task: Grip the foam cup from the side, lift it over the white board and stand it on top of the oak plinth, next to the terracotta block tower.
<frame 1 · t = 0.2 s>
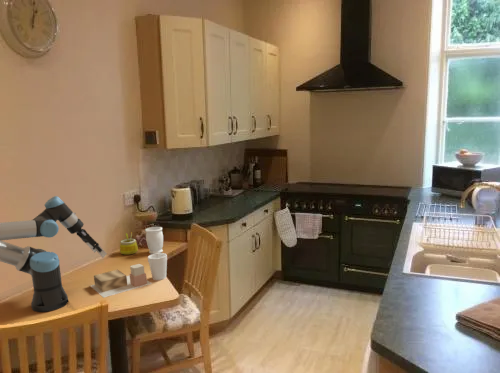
hand: (100, 253, 222), 15 cm above the table, tool tilted 35°, fingers open, 13 cm apart
white board: (121, 287, 214), on the table
foam cup: (159, 281, 220), on the table
oak plinth: (111, 285, 214), resting on white board
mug: (130, 252, 273), on the table
terracotta tower: (138, 283, 214), resting on white board
jar: (156, 252, 270), on the table
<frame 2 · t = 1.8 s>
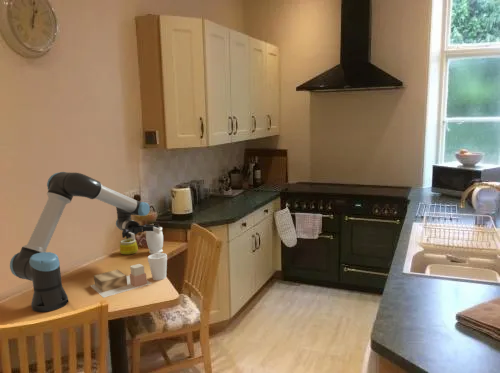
hand: (146, 234, 225), 22 cm above the table, tool horizontal, fingers open, 13 cm apart
nothing on the table moved.
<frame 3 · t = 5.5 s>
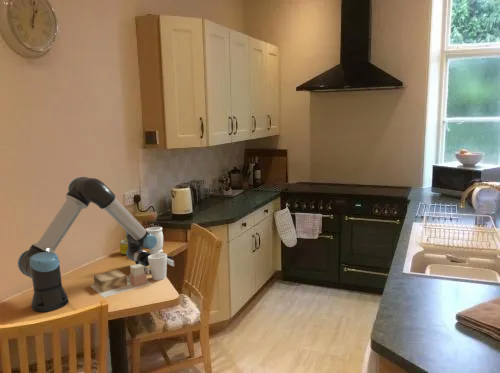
hand: (161, 267, 218), 7 cm above the table, tool horizontal, fingers open, 13 cm apart
nothing on the table moved.
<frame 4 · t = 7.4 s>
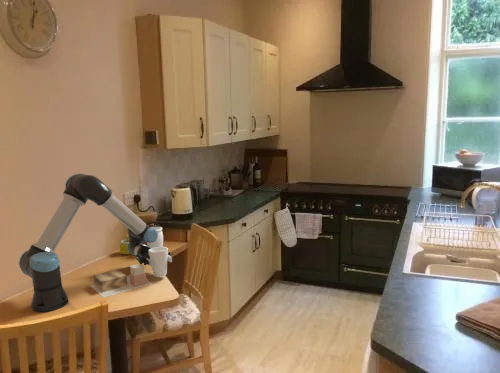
hand: (162, 261, 215), 11 cm above the table, tool horizontal, fingers closed on foam cup, 9 cm apart
foam cup: (160, 274, 219), point 3 cm above the table, touching gripper
everything else where it was.
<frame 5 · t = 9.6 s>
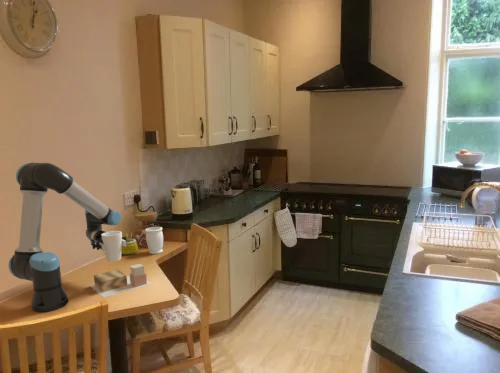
hand: (115, 246, 208), 22 cm above the table, tool horizontal, fingers closed on foam cup, 9 cm apart
foam cup: (114, 259, 212), point 14 cm above the table, touching gripper
everything else where it was.
when the fingers open (15 cm above the table, at t = 11.7 s): foam cup drops 1 cm, resting on oak plinth.
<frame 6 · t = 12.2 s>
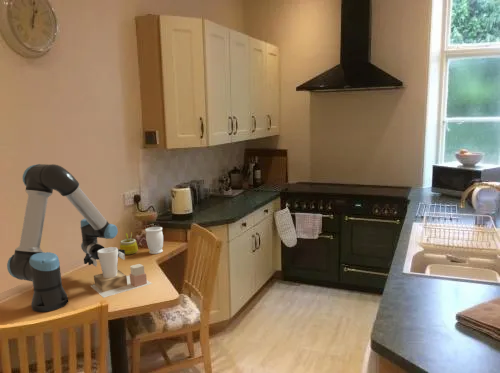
hand: (110, 260, 209), 15 cm above the table, tool horizontal, fingers open, 13 cm apart
foam cup: (110, 276, 212), point 6 cm above the table, touching oak plinth
everything else where it was.
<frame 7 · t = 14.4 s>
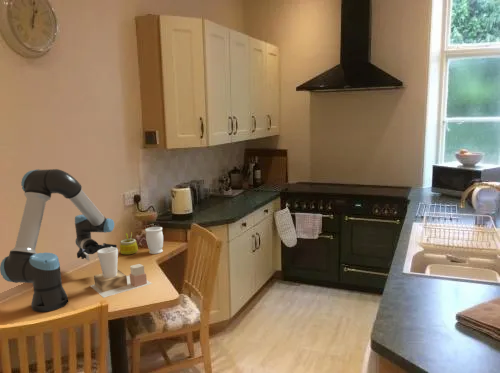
hand: (102, 254, 219), 15 cm above the table, tool horizontal, fingers open, 13 cm apart
nothing on the table moved.
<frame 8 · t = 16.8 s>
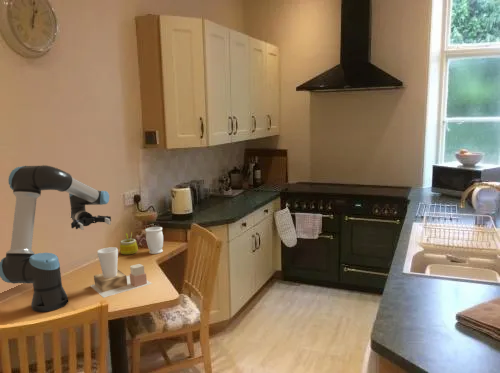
hand: (96, 224, 219), 30 cm above the table, tool horizontal, fingers open, 13 cm apart
nothing on the table moved.
at the end: foam cup inside the target area on the oak plinth (0.8 cm from its centre), point 4.8 cm above the oak plinth's base; foam cup tilted 0°; the gripper is holding nothing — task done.
